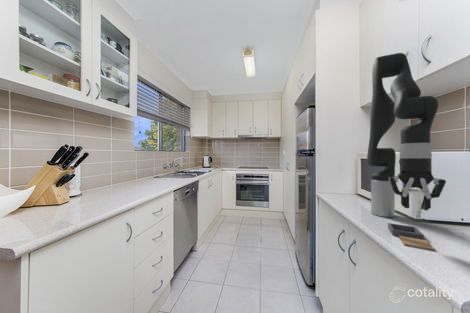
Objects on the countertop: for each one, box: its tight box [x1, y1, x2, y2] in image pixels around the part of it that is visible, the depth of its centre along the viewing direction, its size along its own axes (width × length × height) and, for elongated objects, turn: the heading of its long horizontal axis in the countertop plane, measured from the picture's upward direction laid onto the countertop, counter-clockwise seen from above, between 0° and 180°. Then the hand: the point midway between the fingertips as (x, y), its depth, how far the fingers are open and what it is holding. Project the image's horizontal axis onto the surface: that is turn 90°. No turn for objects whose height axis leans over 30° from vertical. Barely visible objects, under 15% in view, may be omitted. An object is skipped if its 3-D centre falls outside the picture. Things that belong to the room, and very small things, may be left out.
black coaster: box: [387, 222, 425, 240], centre depth 68 cm, size 8×8×2 cm
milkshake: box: [406, 188, 425, 219], centre depth 61 cm, size 5×5×10 cm
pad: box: [398, 236, 436, 252], centre depth 61 cm, size 7×7×1 cm
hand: (415, 208), depth 61 cm, fingers closed on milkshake, 4 cm apart
